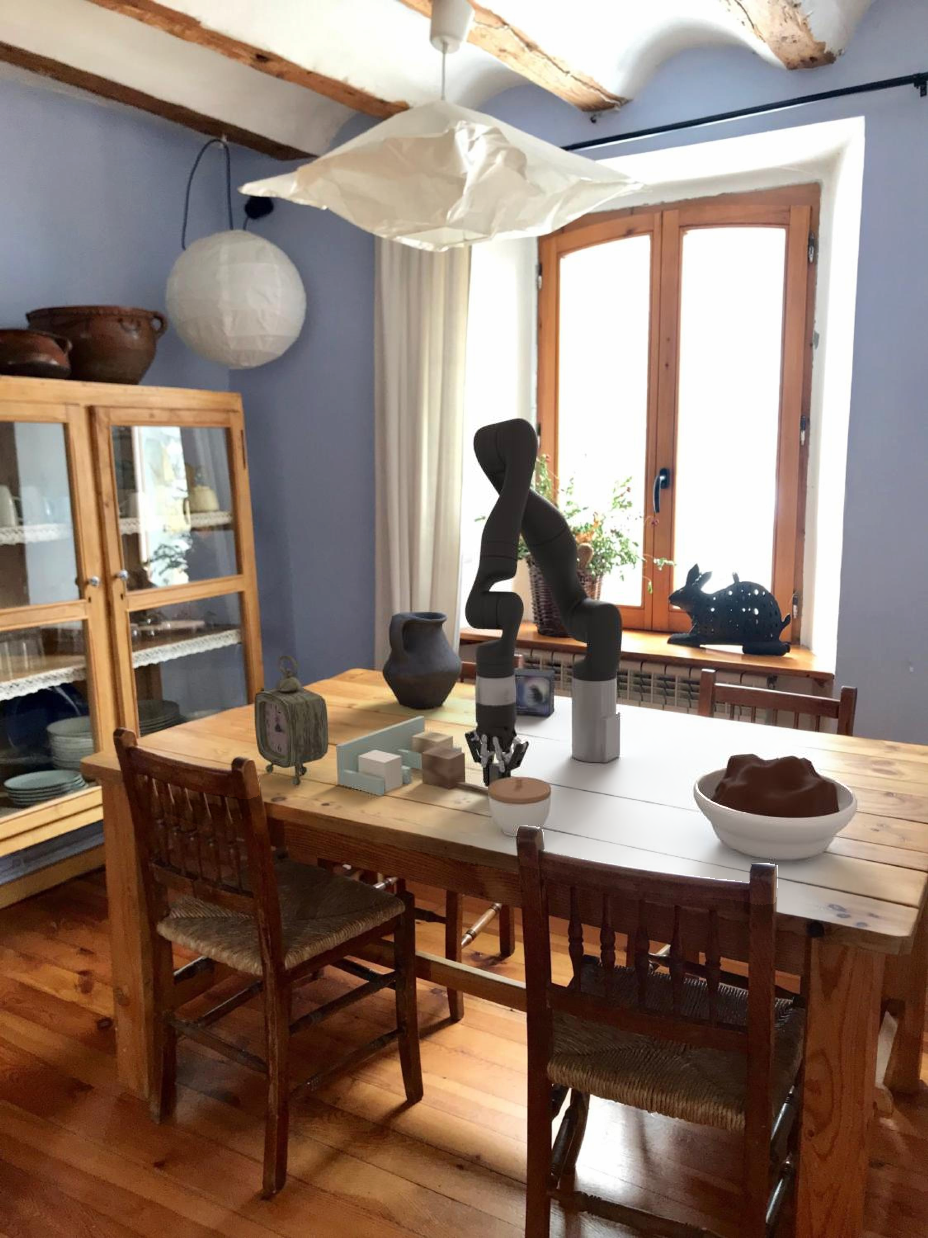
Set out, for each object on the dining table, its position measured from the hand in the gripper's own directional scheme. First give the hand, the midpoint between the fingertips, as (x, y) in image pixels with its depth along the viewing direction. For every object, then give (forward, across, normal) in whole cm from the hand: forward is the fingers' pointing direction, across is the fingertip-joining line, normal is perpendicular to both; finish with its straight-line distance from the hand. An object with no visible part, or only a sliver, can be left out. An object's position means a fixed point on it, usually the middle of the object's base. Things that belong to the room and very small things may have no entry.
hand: (496, 787), depth 180 cm
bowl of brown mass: (+2, -50, -7) cm, 50 cm away
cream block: (+2, +22, +8) cm, 24 cm away
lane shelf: (+2, +23, 0) cm, 23 cm away
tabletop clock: (+2, +40, +14) cm, 43 cm away
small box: (+2, +28, -52) cm, 59 cm away
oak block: (+2, +22, -8) cm, 24 cm away
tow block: (+2, +8, 0) cm, 8 cm away
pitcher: (+2, +54, -41) cm, 68 cm away
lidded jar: (+2, -13, +11) cm, 17 cm away
